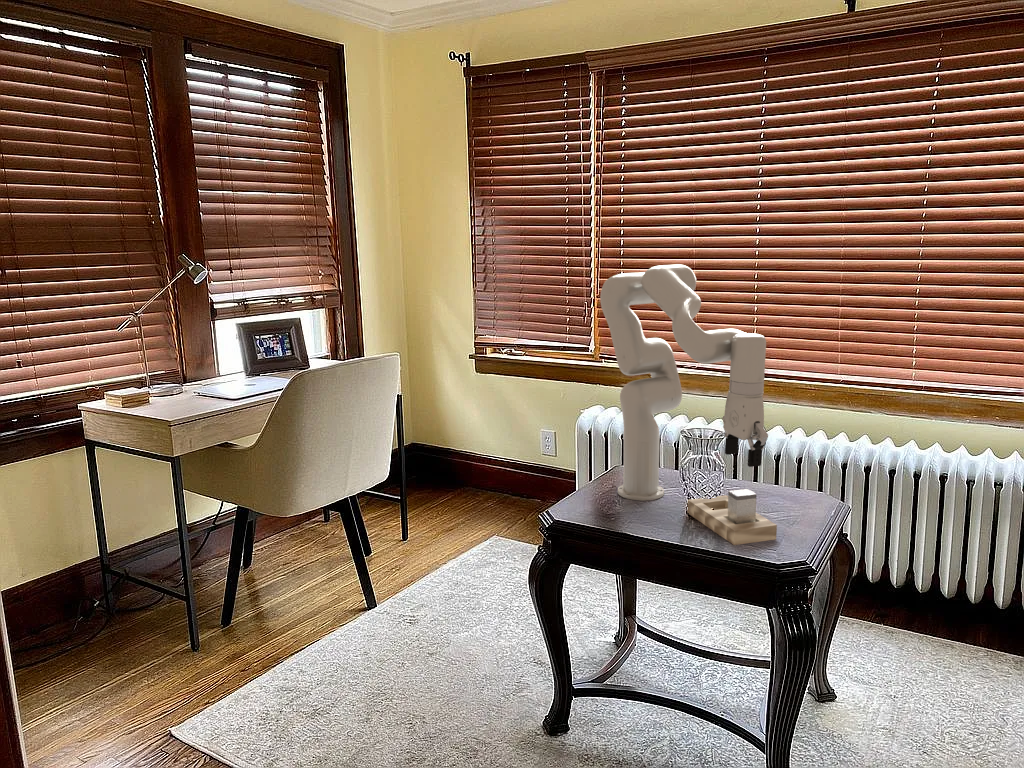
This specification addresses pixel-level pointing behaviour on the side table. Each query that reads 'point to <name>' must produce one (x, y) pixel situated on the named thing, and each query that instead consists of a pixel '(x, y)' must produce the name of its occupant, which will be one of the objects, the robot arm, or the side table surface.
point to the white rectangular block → (741, 506)
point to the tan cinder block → (727, 529)
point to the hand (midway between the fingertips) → (742, 459)
